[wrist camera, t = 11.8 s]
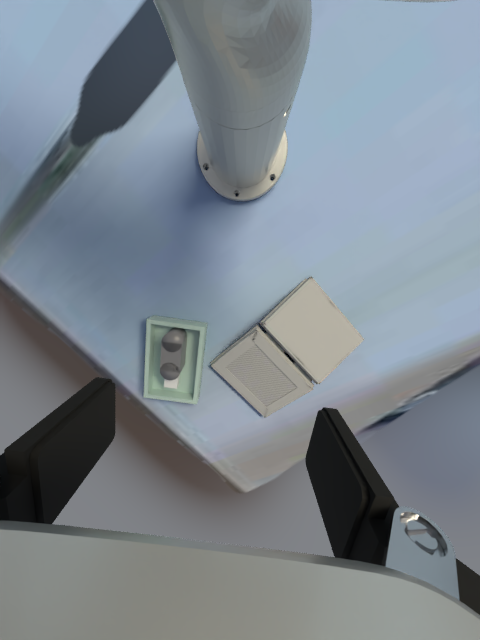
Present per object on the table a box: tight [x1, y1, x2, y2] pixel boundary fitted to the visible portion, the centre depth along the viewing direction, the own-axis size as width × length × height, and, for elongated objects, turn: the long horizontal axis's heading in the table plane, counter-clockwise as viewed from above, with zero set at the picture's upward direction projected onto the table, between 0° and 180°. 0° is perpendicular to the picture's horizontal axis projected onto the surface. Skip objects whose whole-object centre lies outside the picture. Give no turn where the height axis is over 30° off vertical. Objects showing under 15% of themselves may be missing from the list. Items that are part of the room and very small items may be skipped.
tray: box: [144, 315, 207, 404], centre depth 39 cm, size 14×9×3 cm, turn 172°
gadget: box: [210, 277, 364, 417], centre depth 38 cm, size 23×15×4 cm, turn 133°
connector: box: [160, 327, 187, 389], centre depth 37 cm, size 10×3×4 cm, turn 172°
